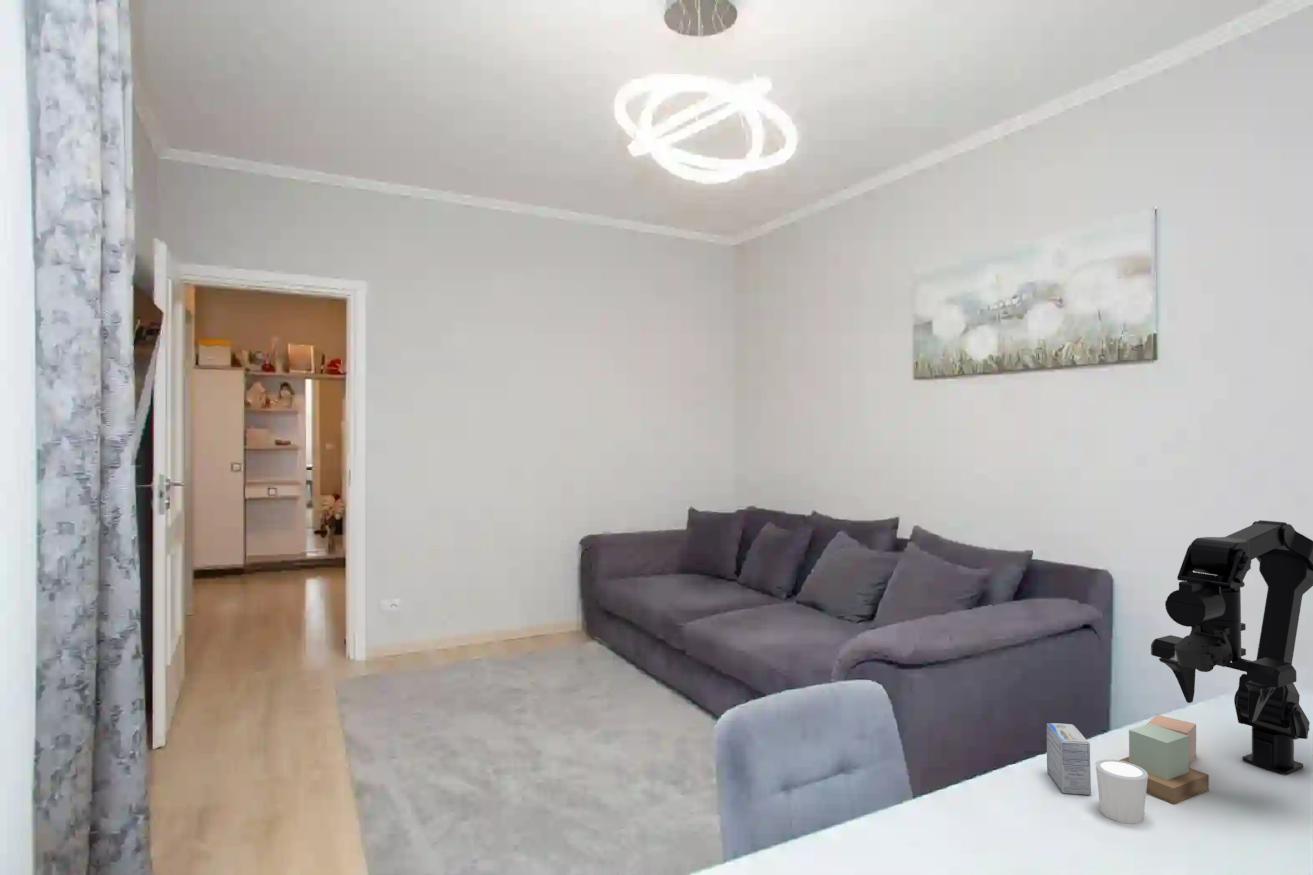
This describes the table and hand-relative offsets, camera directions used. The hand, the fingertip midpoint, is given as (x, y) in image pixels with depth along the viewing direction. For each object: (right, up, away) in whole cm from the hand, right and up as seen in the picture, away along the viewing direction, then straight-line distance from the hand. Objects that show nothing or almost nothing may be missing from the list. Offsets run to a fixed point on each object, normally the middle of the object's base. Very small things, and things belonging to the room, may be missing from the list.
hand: (1219, 711), depth 122 cm
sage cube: (-9, -10, +2) cm, 14 cm away
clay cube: (+1, -13, +12) cm, 18 cm away
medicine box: (-24, -13, +2) cm, 27 cm away
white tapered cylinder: (-21, -13, -8) cm, 26 cm away
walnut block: (-9, -13, +2) cm, 15 cm away
